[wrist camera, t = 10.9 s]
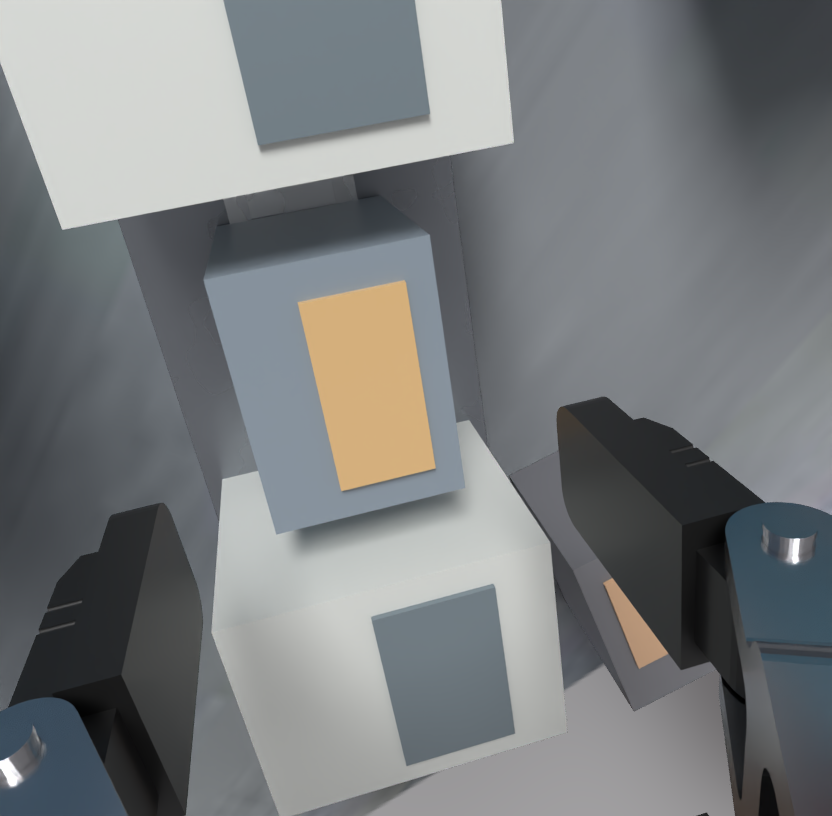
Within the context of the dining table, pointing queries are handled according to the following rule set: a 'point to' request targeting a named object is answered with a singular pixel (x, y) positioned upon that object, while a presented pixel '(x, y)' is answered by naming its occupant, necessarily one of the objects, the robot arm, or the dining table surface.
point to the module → (337, 359)
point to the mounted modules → (243, 495)
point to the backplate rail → (194, 321)
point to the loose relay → (600, 596)
